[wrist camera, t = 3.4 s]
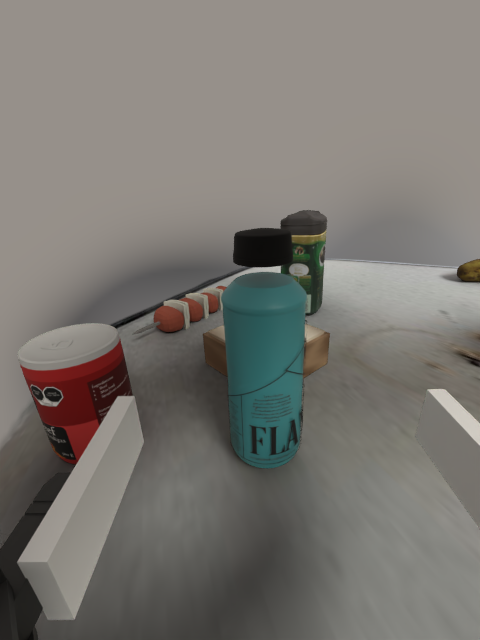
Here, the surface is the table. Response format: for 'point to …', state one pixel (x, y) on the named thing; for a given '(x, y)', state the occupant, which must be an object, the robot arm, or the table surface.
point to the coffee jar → (307, 254)
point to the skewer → (186, 310)
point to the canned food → (74, 382)
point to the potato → (470, 271)
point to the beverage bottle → (264, 350)
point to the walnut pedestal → (314, 352)
